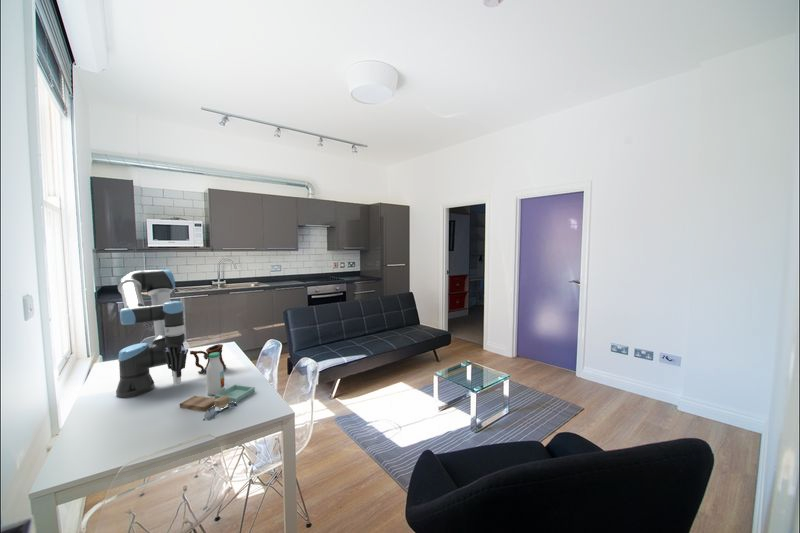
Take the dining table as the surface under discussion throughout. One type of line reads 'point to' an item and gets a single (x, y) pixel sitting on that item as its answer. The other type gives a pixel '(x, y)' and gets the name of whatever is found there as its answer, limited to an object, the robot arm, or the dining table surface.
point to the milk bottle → (215, 375)
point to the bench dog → (222, 401)
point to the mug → (206, 356)
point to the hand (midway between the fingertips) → (177, 383)
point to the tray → (236, 392)
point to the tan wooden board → (198, 403)
